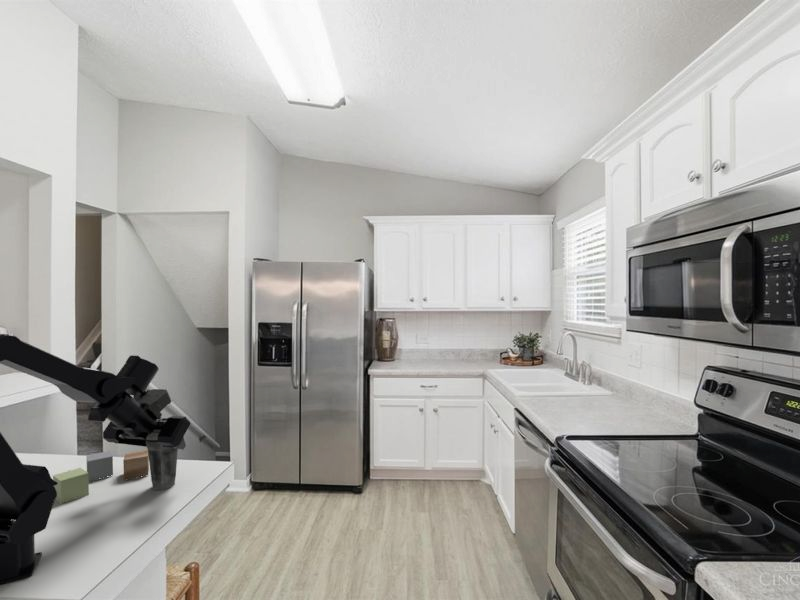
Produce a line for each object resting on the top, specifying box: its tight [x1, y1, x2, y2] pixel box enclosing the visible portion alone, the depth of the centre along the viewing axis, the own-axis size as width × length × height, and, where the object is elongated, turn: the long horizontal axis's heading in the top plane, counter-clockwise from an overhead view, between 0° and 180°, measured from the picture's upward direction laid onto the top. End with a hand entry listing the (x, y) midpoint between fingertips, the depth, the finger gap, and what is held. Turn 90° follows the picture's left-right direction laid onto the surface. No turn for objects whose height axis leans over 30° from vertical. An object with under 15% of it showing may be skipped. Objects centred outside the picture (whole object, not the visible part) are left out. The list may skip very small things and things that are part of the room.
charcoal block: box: [86, 450, 114, 482], centre depth 103 cm, size 5×5×5 cm
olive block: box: [52, 467, 90, 504], centre depth 92 cm, size 5×5×5 cm
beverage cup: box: [145, 411, 179, 491], centre depth 96 cm, size 7×7×20 cm
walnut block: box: [122, 449, 150, 481], centre depth 103 cm, size 5×5×5 cm
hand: (167, 446), depth 98 cm, fingers open, 9 cm apart
